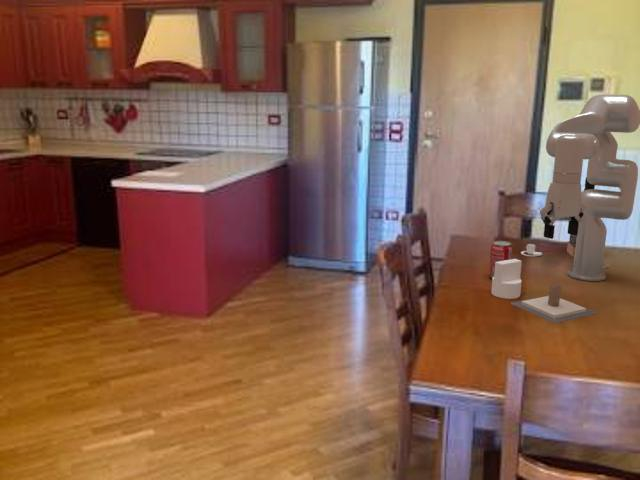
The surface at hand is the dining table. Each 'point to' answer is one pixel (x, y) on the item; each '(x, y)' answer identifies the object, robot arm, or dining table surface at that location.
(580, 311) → the lid
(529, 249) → the teacup and saucer
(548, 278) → the dining table surface
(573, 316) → the mat
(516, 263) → the cylinder with rectangular tab
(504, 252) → the soda can
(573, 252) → the whiskey bottle
